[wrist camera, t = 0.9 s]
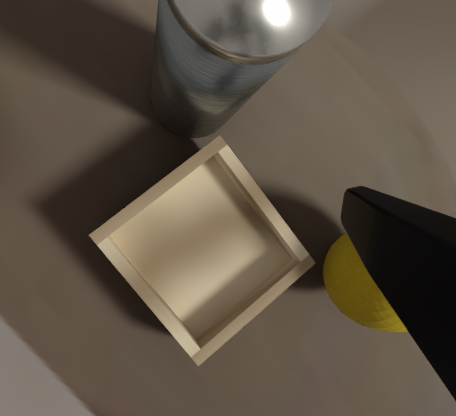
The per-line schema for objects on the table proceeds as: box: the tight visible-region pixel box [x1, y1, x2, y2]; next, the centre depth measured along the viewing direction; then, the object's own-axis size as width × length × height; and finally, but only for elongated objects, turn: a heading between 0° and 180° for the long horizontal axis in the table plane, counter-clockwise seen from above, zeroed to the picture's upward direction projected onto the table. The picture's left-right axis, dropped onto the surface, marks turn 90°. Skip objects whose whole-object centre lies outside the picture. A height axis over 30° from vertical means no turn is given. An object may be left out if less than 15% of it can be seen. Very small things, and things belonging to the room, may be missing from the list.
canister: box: [151, 0, 334, 138], centre depth 17 cm, size 5×5×13 cm
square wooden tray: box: [89, 136, 315, 366], centre depth 22 cm, size 8×8×4 cm
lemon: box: [323, 233, 408, 332], centre depth 21 cm, size 6×6×8 cm
